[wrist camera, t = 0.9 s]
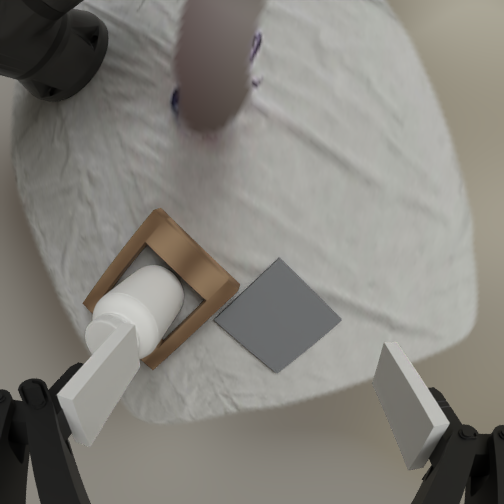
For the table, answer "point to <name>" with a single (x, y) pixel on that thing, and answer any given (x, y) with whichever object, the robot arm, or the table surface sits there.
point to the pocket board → (182, 262)
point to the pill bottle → (138, 308)
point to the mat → (278, 317)
